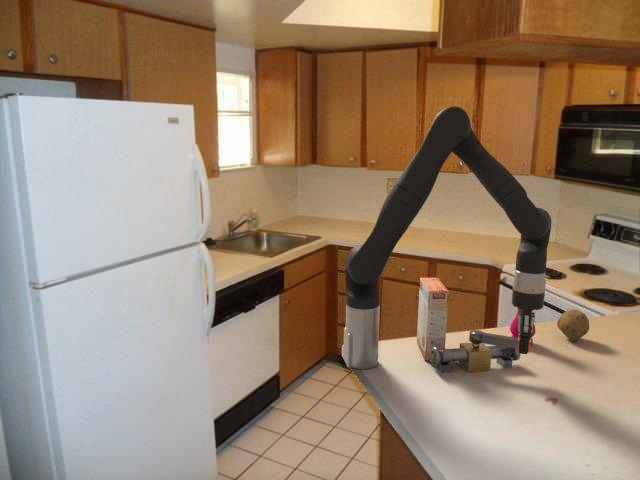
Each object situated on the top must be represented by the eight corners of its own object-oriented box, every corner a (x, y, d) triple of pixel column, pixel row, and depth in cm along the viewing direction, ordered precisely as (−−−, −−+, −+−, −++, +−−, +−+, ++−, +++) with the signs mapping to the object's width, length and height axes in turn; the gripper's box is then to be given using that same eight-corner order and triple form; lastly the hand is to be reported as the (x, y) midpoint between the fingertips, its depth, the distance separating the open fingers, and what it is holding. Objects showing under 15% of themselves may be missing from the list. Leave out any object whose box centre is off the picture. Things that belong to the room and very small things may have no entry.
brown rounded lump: (549, 338, 160) (553, 308, 158) (564, 331, 166) (567, 302, 164) (578, 348, 153) (582, 316, 151) (592, 340, 159) (596, 310, 157)
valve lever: (468, 343, 138) (468, 332, 138) (470, 338, 141) (470, 328, 141) (529, 353, 132) (530, 342, 131) (530, 348, 135) (531, 337, 134)
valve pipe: (437, 375, 136) (438, 349, 134) (428, 365, 142) (430, 340, 140) (519, 368, 140) (522, 343, 138) (508, 359, 146) (510, 335, 144)
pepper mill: (508, 345, 155) (513, 282, 151) (509, 337, 161) (514, 276, 157) (533, 349, 152) (540, 285, 148) (534, 340, 159) (540, 279, 154)
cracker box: (445, 361, 144) (449, 291, 140) (424, 361, 144) (427, 290, 140) (435, 341, 158) (439, 276, 153) (416, 341, 158) (419, 276, 153)
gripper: (546, 297, 120) (539, 365, 124) (544, 282, 132) (538, 345, 136) (512, 293, 123) (506, 360, 126) (513, 279, 135) (508, 341, 138)
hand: (523, 352), depth 131 cm, fingers closed
